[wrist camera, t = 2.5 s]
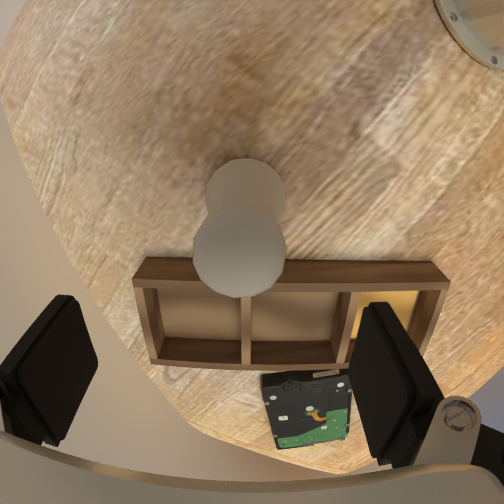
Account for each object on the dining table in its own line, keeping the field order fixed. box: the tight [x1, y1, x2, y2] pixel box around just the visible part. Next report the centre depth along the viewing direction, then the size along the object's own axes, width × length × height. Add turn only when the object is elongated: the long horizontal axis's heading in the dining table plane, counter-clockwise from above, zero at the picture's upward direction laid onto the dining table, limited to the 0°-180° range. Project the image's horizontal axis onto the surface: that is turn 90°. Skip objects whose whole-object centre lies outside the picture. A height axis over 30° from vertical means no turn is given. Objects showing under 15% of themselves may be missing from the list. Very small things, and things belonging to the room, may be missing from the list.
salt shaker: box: [193, 158, 287, 298], centre depth 19 cm, size 6×6×13 cm
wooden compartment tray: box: [132, 257, 450, 371], centre depth 28 cm, size 10×27×4 cm, turn 89°
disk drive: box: [261, 368, 352, 450], centre depth 36 cm, size 10×3×15 cm
